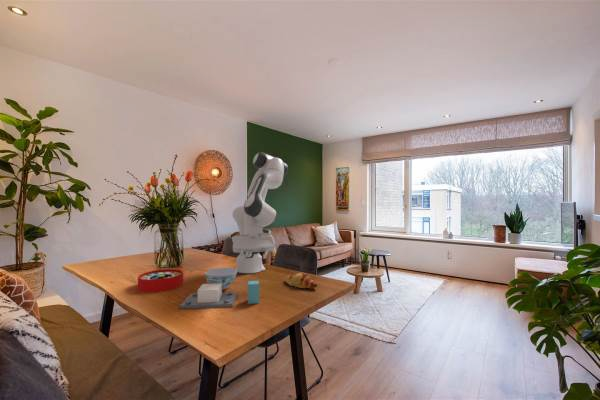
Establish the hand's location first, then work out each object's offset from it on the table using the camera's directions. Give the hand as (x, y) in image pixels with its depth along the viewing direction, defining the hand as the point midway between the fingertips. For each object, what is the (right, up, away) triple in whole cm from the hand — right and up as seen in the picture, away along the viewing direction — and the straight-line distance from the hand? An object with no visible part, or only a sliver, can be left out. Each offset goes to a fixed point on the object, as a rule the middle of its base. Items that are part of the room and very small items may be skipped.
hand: (254, 258), depth 125 cm
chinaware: (-17, -16, +6) cm, 24 cm away
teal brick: (+1, -15, -12) cm, 20 cm away
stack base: (-17, -15, -12) cm, 26 cm away
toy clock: (-48, -16, +9) cm, 51 cm away
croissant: (+21, -16, +10) cm, 28 cm away
